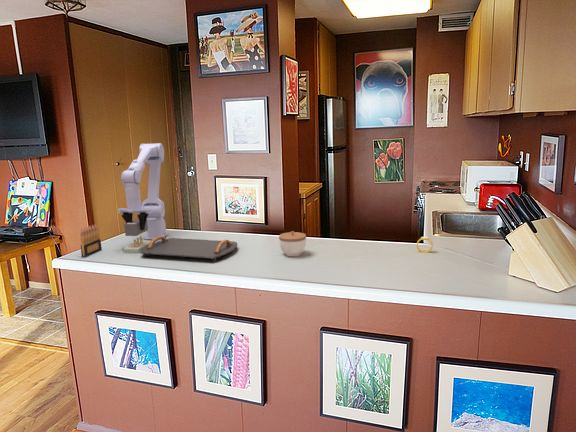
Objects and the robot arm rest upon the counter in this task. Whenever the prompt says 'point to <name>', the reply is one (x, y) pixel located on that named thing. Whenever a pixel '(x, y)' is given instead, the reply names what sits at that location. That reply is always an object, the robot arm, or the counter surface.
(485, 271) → the counter surface
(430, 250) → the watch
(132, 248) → the pin header
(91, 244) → the ammunition clip
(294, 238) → the lidded jar
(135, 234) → the block
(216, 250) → the serving board
